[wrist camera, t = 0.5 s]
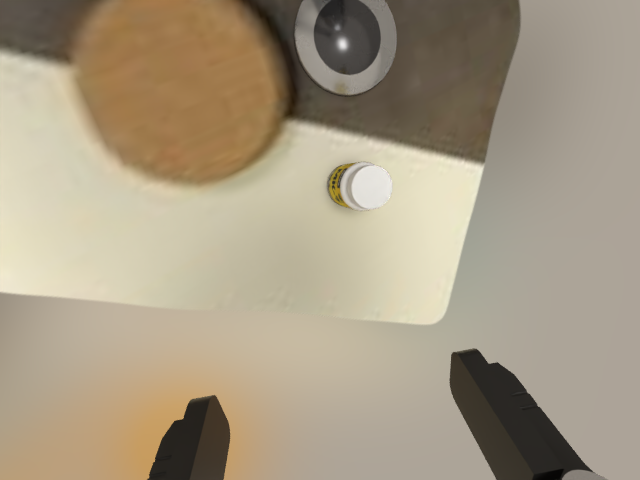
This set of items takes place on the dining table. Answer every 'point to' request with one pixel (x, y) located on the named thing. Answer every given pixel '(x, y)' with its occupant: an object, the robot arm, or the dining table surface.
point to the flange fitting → (345, 43)
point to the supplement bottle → (360, 186)
